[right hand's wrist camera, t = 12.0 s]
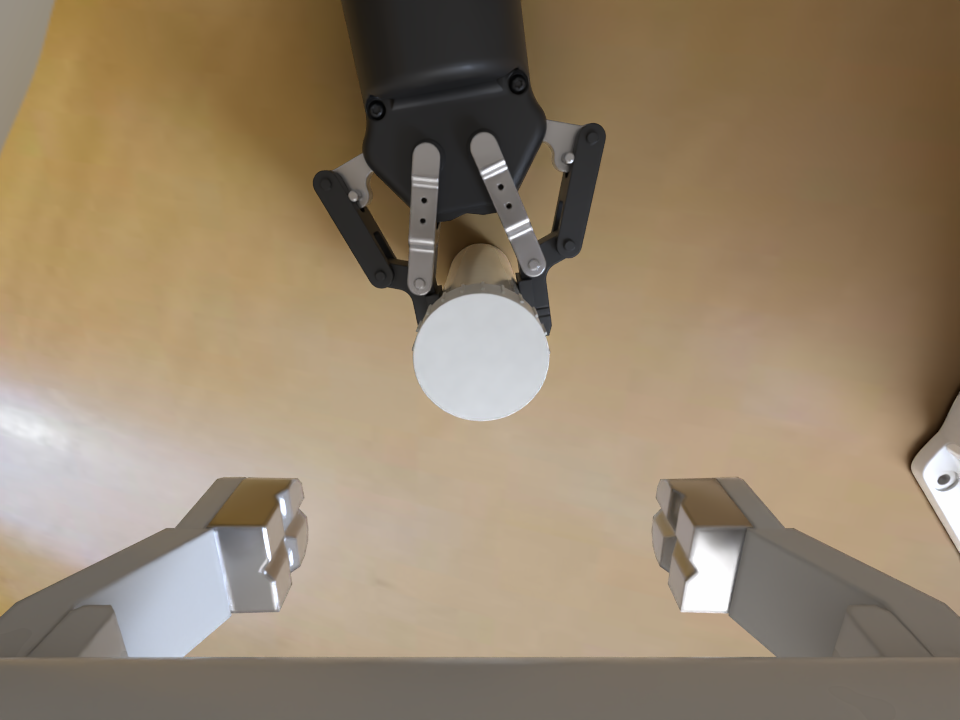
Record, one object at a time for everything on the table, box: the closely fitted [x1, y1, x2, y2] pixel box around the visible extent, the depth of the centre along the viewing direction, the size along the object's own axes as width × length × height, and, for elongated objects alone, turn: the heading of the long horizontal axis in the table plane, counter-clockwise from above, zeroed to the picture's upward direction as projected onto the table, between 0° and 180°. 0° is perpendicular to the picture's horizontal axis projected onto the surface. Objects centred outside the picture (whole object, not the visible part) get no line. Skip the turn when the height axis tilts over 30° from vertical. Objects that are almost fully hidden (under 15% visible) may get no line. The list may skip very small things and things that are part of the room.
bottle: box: [441, 244, 520, 297], centre depth 26 cm, size 4×4×15 cm
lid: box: [412, 281, 550, 421], centre depth 19 cm, size 5×5×2 cm
